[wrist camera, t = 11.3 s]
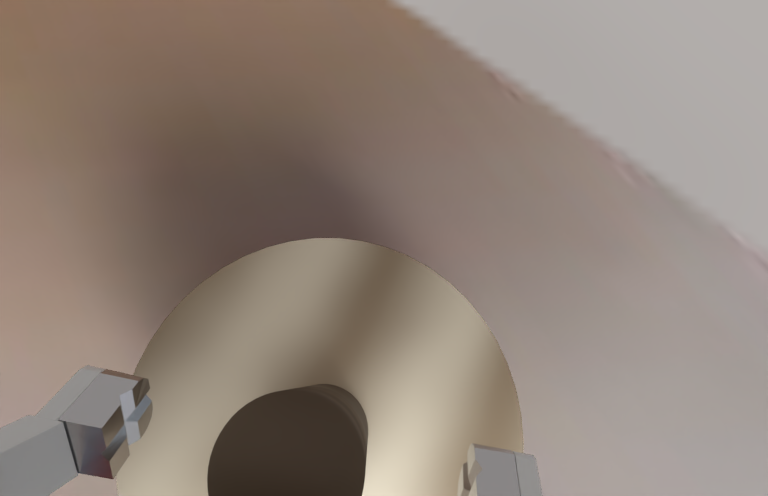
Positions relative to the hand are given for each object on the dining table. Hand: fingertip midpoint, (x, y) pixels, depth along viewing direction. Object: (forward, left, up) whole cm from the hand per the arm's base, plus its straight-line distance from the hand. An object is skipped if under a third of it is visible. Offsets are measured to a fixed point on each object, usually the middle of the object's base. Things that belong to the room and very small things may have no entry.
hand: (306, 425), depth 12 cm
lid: (0, +1, -6) cm, 6 cm away
